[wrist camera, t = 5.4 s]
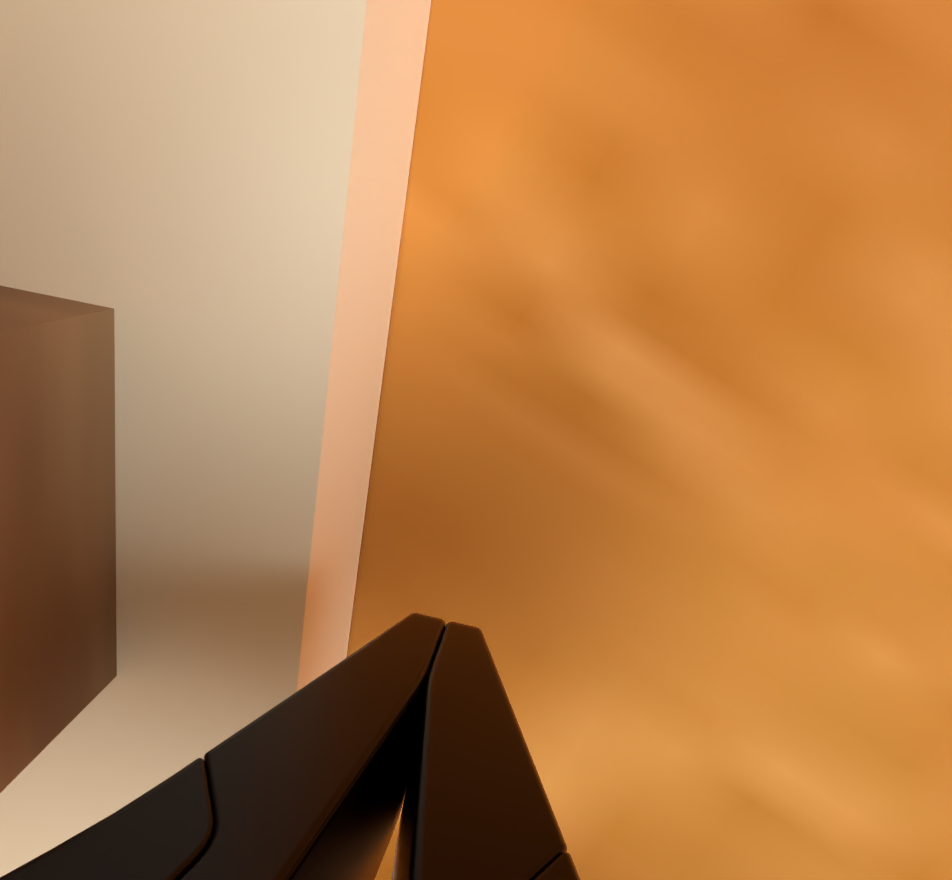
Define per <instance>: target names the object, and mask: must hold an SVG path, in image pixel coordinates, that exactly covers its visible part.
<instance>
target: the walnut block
mask: <svg viewBox="0 0 952 880" xmlns="http://www.w3.org/2000/svg"><path fill="white" fill-rule="evenodd" d="M116 676H117V640H116V491H115V341H114V308H109V307H104V306H99V305H94V304H89V303H84V302H79V301H74V300H69V299H64V298H60V297H55V296H50V295H45V294H40V293H35V292H30V291H25V290H20V289H15V288H10V287H5V286H0V793H1V792H2V791H3V790H4V789H5V788H6V787H7V786H8V785H9V784H10V783H11V782H12V781H13V780H14V779H15V778H16V777H17V776H18V775H19V774H20V773H21V772H22V771H23V770H24V769H25V768H26V767H27V766H28V765H29V764H30V763H31V762H32V761H33V760H34V759H35V758H36V757H37V756H38V755H39V754H40V753H41V752H42V751H43V750H44V749H45V748H46V747H47V746H48V745H49V744H50V743H51V742H52V741H53V740H54V739H55V738H56V737H57V736H58V735H59V734H60V733H61V731H62V730H63V729H64V728H65V727H66V726H67V725H68V724H69V723H70V722H71V721H72V720H73V719H74V718H75V717H76V716H77V715H78V714H79V713H80V712H81V711H82V710H83V709H84V708H85V707H86V706H87V705H88V704H89V703H90V702H91V701H92V700H93V699H94V698H95V697H96V696H97V695H98V694H99V693H100V692H101V691H102V690H103V689H104V688H105V687H106V686H107V685H108V684H109V683H110V682H111V681H112V680H113V679H114V678H115V677H116Z"/></svg>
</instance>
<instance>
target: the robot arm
mask: <svg viewBox="0 0 952 880" xmlns="http://www.w3.org/2000/svg"><path fill="white" fill-rule="evenodd" d="M403 801H404V803H403ZM402 804H403V808H402ZM401 808H402V814H401V819H400V825H399V831H398V837H397V844H396V851H395V859H394V866H393V873H392V880H580V878H579V875H578V873H577V870H576V868H575V865H574V863H573V860H572V858H571V855H570V854H569V853H567V846H566V843H565V841H564V838H563V836H562V833H561V831H560V828H559V826H558V823H557V821H556V818H555V816H554V813H553V810H552V808H551V805H550V803H549V800H548V798H547V795H546V793H545V790H544V788H543V785H542V783H541V780H540V778H539V775H538V772H537V770H536V767H535V765H534V762H533V760H532V757H531V755H530V752H529V750H528V747H527V745H526V742H525V740H524V737H523V735H522V732H521V729H520V727H519V724H518V722H517V719H516V717H515V714H514V712H513V709H512V707H511V704H510V702H509V699H508V697H507V694H506V691H505V689H504V686H503V684H502V681H501V679H500V676H499V674H498V671H497V669H496V666H495V664H494V661H493V659H492V656H491V654H490V651H489V648H488V646H487V643H486V641H485V638H484V636H483V633H482V631H481V630H480V629H479V628H477V627H473V626H469V625H464V624H460V623H456V622H450V623H448V624H447V625H446V627H445V622H444V621H443V620H442V619H439V618H435V617H430V616H426V615H422V614H418V613H413V614H411V615H409V616H408V617H406V618H405V619H403V620H402V621H400V622H399V623H397V624H396V625H394V626H393V627H391V628H390V629H388V630H387V631H385V632H384V633H382V634H381V635H379V636H378V637H377V638H375V639H374V640H372V641H371V642H369V643H368V644H366V645H365V646H363V647H362V648H360V649H359V650H357V651H356V652H354V653H353V654H351V655H350V656H348V657H347V658H346V659H344V660H343V661H341V662H340V663H338V664H337V665H335V666H334V667H332V668H331V669H329V670H328V671H326V672H325V673H323V674H322V675H320V676H319V677H317V678H316V679H315V680H313V681H312V682H310V683H309V684H307V685H306V686H304V687H303V688H301V689H300V690H298V691H297V692H295V693H294V694H292V695H291V696H289V697H288V698H286V699H285V700H283V701H282V702H281V703H279V704H278V705H276V706H275V707H273V708H272V709H270V710H269V711H267V712H266V713H264V714H263V715H261V716H260V717H258V718H257V719H255V720H254V721H252V722H251V723H250V724H248V725H247V726H245V727H244V728H242V729H241V730H239V731H238V732H236V733H235V734H233V735H232V736H230V737H229V738H227V739H226V740H224V741H223V742H221V743H220V744H219V745H217V746H216V747H214V748H213V749H211V750H210V751H208V752H207V753H206V754H205V755H204V759H203V758H197V759H196V760H194V761H193V762H191V763H190V764H188V765H187V766H185V767H184V768H183V769H181V770H180V771H178V772H177V773H175V774H174V775H172V776H171V777H169V778H168V779H166V780H165V781H163V782H162V783H160V784H158V785H157V786H155V787H154V788H152V789H151V790H149V791H147V792H146V793H144V794H143V795H141V796H140V797H138V798H137V799H135V800H133V801H132V802H130V803H129V804H127V805H126V806H124V807H122V808H121V809H119V810H118V811H116V812H115V813H113V814H111V815H109V816H108V817H106V818H104V819H103V820H101V821H99V822H97V823H96V824H94V825H92V826H90V827H89V828H87V829H85V830H83V831H82V832H80V833H78V834H77V835H75V836H73V837H71V838H70V839H68V840H66V841H64V842H63V843H61V844H59V845H58V846H56V847H54V848H52V849H51V850H49V851H47V852H45V853H43V854H42V855H40V856H38V857H36V858H34V859H33V860H31V861H29V862H27V863H25V864H23V865H22V866H20V867H18V868H16V869H14V870H13V871H11V872H9V873H7V874H5V875H3V876H2V877H0V880H374V879H375V877H376V874H377V871H378V869H379V866H380V864H381V861H382V859H383V856H384V854H385V851H386V849H387V846H388V844H389V841H390V839H391V836H392V834H393V831H394V828H395V825H396V823H397V820H398V817H399V815H400V811H401Z"/></svg>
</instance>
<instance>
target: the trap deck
mask: <svg viewBox="0 0 952 880" xmlns="http://www.w3.org/2000/svg"><path fill="white" fill-rule="evenodd" d="M430 7H431V0H0V286H5V287H10V288H15V289H20V290H25V291H30V292H35V293H40V294H45V295H50V296H55V297H60V298H64V299H69V300H74V301H79V302H84V303H89V304H94V305H99V306H104V307H109V308H114V341H115V491H116V640H117V676H116V677H115V678H114V679H113V680H112V681H111V682H110V683H109V684H108V685H107V686H106V687H105V688H104V689H103V690H102V691H101V692H100V693H99V694H98V695H97V696H96V697H95V698H94V699H93V700H92V701H91V702H90V703H89V704H88V705H87V706H86V707H85V708H84V709H83V710H82V711H81V712H80V713H79V714H78V715H77V716H76V717H75V718H74V719H73V720H72V721H71V722H70V723H69V724H68V725H67V726H66V727H65V728H64V729H63V730H62V731H61V733H60V734H59V735H58V736H57V737H56V738H55V739H54V740H53V741H52V742H51V743H50V744H49V745H48V746H47V747H46V748H45V749H44V750H43V751H42V752H41V753H40V754H39V755H38V756H37V757H36V758H35V759H34V760H33V761H32V762H31V763H30V764H29V765H28V766H27V767H26V768H25V769H24V770H23V771H22V772H21V773H20V774H19V775H18V776H17V777H16V778H15V779H14V780H13V781H12V782H11V783H10V784H9V785H8V786H7V787H6V788H5V789H4V790H3V791H2V792H1V793H0V877H2V876H3V875H5V874H7V873H9V872H11V871H13V870H14V869H16V868H18V867H20V866H22V865H23V864H25V863H27V862H29V861H31V860H33V859H34V858H36V857H38V856H40V855H42V854H43V853H45V852H47V851H49V850H51V849H52V848H54V847H56V846H58V845H59V844H61V843H63V842H64V841H66V840H68V839H70V838H71V837H73V836H75V835H77V834H78V833H80V832H82V831H83V830H85V829H87V828H89V827H90V826H92V825H94V824H96V823H97V822H99V821H101V820H103V819H104V818H106V817H108V816H109V815H111V814H113V813H115V812H116V811H118V810H119V809H121V808H122V807H124V806H126V805H127V804H129V803H130V802H132V801H133V800H135V799H137V798H138V797H140V796H141V795H143V794H144V793H146V792H147V791H149V790H151V789H152V788H154V787H155V786H157V785H158V784H160V783H162V782H163V781H165V780H166V779H168V778H169V777H171V776H172V775H174V774H175V773H177V772H178V771H180V770H181V769H183V768H184V767H185V766H187V765H188V764H190V763H191V762H193V761H194V760H196V759H197V758H203V759H204V755H205V754H206V753H207V752H208V751H210V750H211V749H213V748H214V747H216V746H217V745H219V744H220V743H221V742H223V741H224V740H226V739H227V738H229V737H230V736H232V735H233V734H235V733H236V732H238V731H239V730H241V729H242V728H244V727H245V726H247V725H248V724H250V723H251V722H252V721H254V720H255V719H257V718H258V717H260V716H261V715H263V714H264V713H266V712H267V711H269V710H270V709H272V708H273V707H275V706H276V705H278V704H279V703H281V702H282V701H283V700H285V699H286V698H288V697H289V696H291V695H292V694H294V693H295V692H297V691H298V690H300V689H301V688H303V687H304V686H306V685H307V684H309V683H310V682H312V681H313V680H315V679H316V678H317V677H319V676H320V675H322V674H323V673H325V672H326V671H328V670H329V669H331V668H332V667H334V666H335V665H337V664H338V663H340V662H341V661H343V660H344V659H346V657H347V649H348V641H349V634H350V626H351V618H352V610H353V603H354V595H355V587H356V579H357V572H358V564H359V556H360V548H361V541H362V533H363V525H364V517H365V510H366V502H367V494H368V487H369V479H370V471H371V463H372V456H373V448H374V440H375V432H376V425H377V417H378V409H379V401H380V394H381V386H382V378H383V370H384V363H385V355H386V347H387V339H388V332H389V324H390V316H391V308H392V301H393V293H394V285H395V277H396V270H397V262H398V254H399V247H400V239H401V231H402V223H403V216H404V208H405V200H406V192H407V185H408V177H409V169H410V161H411V154H412V146H413V138H414V130H415V123H416V115H417V107H418V99H419V92H420V84H421V76H422V68H423V61H424V53H425V45H426V37H427V30H428V22H429V14H430Z"/></svg>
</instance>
